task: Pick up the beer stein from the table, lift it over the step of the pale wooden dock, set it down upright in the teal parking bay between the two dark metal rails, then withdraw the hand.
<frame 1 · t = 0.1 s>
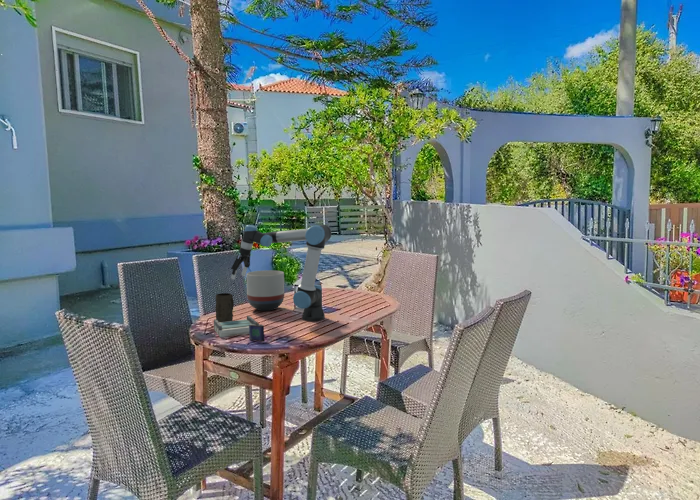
hand: (238, 277, 325), 28 cm above the table, tool tilted 20°, fingers open, 13 cm apart
dock: (235, 331, 296), on the table
flask: (257, 340, 276), on the table
planter: (266, 309, 353), on the table
beer stein: (226, 323, 315), on the table
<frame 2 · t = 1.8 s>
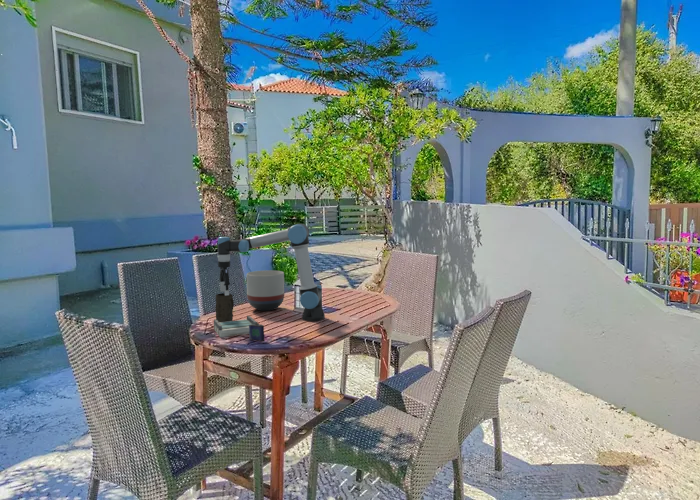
hand: (224, 293, 313), 20 cm above the table, tool pointing down, fingers open, 13 cm apart
beer stein: (226, 323, 315), on the table, touching gripper
everything else where it was.
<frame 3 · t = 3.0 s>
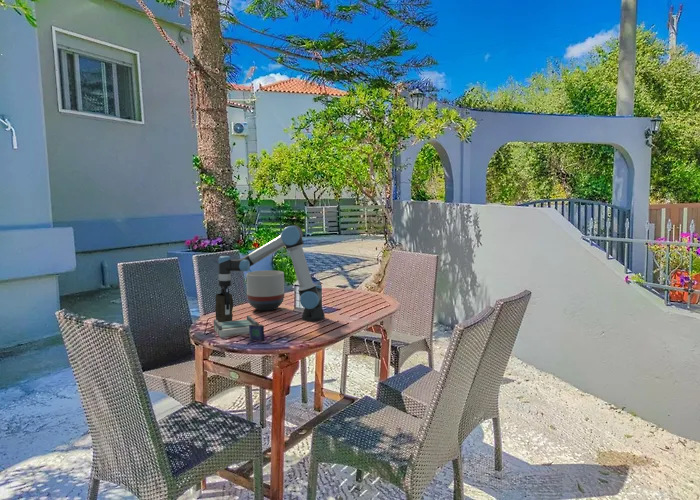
hand: (225, 312, 314), 7 cm above the table, tool pointing down, fingers open, 13 cm apart
nothing on the table moved.
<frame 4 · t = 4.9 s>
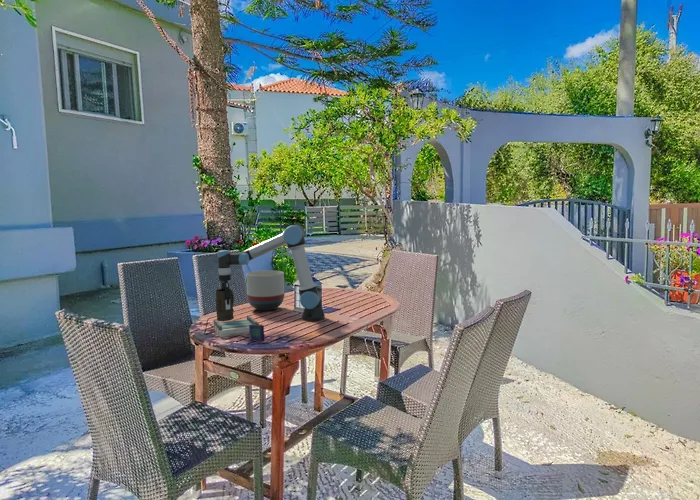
hand: (226, 307, 314), 10 cm above the table, tool pointing down, fingers closed on beer stein, 11 cm apart
beer stein: (227, 318, 317), point 3 cm above the table, touching gripper
everything else where it was.
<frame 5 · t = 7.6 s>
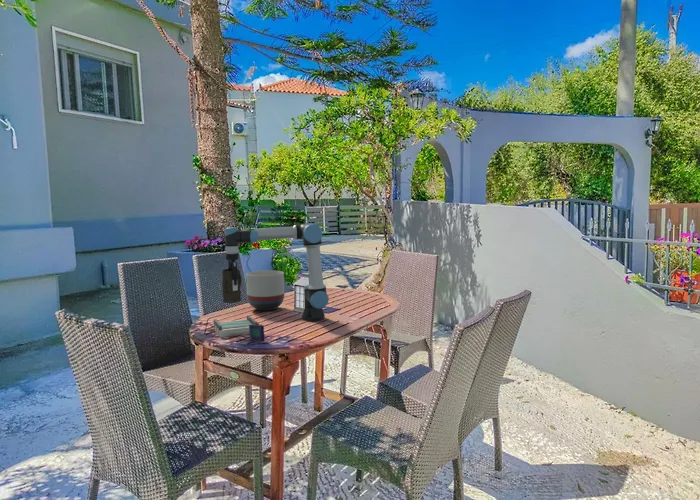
hand: (233, 288, 294), 26 cm above the table, tool pointing down, fingers closed on beer stein, 11 cm apart
beer stein: (233, 300, 297), point 18 cm above the table, touching gripper
everything else where it was.
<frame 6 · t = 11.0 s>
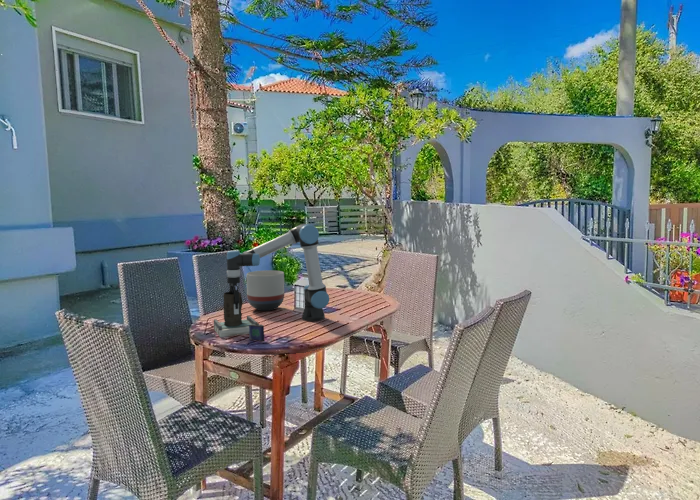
hand: (234, 312, 294), 12 cm above the table, tool pointing down, fingers closed on beer stein, 11 cm apart
beer stein: (234, 323, 297), point 4 cm above the table, touching dock, gripper
everything else where it was.
when the fingers open (12 cm above the table, at t = 11.2 s): beer stein stays where it is, resting on dock.
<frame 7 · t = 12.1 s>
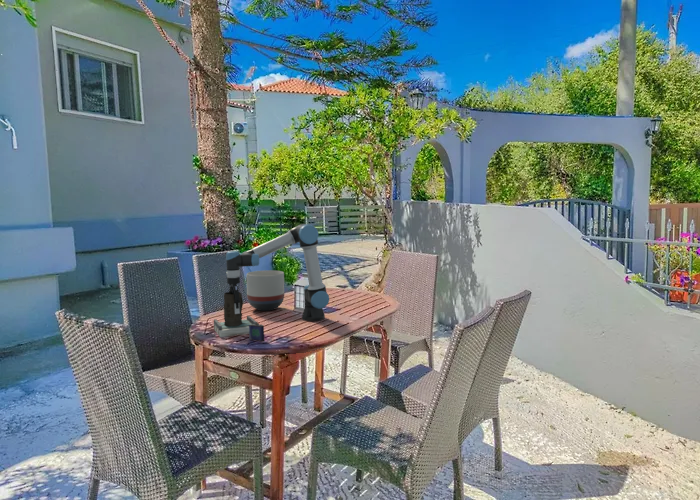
hand: (234, 311, 295), 12 cm above the table, tool pointing down, fingers open, 13 cm apart
beer stein: (235, 323, 297), point 4 cm above the table, touching dock
everything else where it was.
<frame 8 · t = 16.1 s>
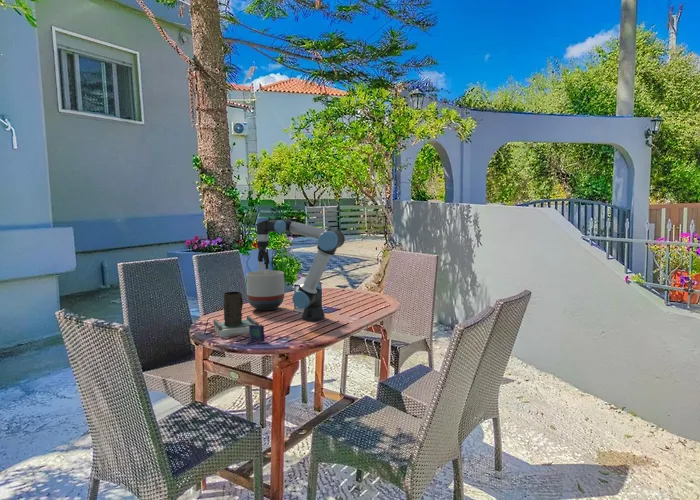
hand: (263, 272, 320), 32 cm above the table, tool pointing down, fingers open, 13 cm apart
nothing on the table moved.
at the end: beer stein inside the target area on the dock (1.7 cm from its centre), point 4.1 cm above the dock's base; beer stein tilted 0°; the gripper is holding nothing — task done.
